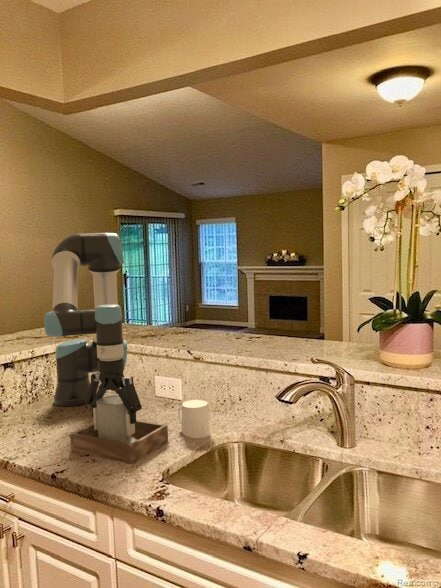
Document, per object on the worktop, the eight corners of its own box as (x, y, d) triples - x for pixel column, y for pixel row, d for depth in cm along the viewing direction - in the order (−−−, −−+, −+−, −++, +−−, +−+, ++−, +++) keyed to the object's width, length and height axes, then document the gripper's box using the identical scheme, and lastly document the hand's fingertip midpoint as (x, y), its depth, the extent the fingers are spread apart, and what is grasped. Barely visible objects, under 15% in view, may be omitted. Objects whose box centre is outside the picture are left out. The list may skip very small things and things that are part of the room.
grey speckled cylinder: (106, 450, 139) (104, 407, 138) (93, 440, 146) (91, 399, 145) (137, 441, 144) (135, 400, 143) (123, 432, 152) (121, 393, 151)
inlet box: (110, 431, 157) (109, 415, 157) (168, 441, 147) (167, 425, 146) (71, 450, 142) (70, 434, 142) (132, 464, 132) (131, 445, 131)
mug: (215, 403, 152) (196, 410, 146) (216, 433, 153) (197, 440, 147) (188, 396, 160) (169, 402, 154) (189, 424, 161) (170, 431, 155)
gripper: (70, 357, 145) (74, 429, 147) (135, 364, 134) (139, 441, 136) (88, 352, 152) (92, 421, 154) (152, 358, 141) (155, 432, 143)
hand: (114, 431), depth 145 cm, fingers open, 11 cm apart
